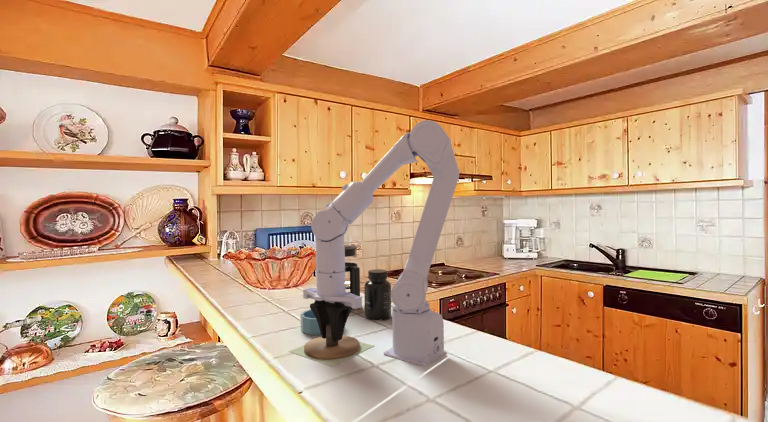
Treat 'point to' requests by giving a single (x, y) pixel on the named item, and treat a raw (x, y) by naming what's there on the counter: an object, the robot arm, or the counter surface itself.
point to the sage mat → (335, 361)
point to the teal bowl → (309, 323)
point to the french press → (352, 272)
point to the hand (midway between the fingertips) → (332, 338)
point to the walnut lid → (331, 347)
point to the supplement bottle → (377, 295)
